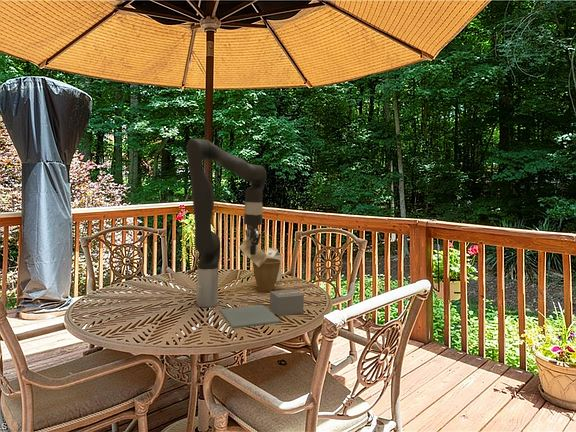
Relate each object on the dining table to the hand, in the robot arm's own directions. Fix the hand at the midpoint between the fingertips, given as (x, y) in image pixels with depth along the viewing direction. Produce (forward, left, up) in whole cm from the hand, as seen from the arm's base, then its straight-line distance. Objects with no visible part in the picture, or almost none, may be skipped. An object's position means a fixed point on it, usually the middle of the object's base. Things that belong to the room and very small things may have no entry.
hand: (252, 254), depth 170 cm
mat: (-1, 0, -27) cm, 27 cm away
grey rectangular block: (+17, +2, -27) cm, 32 cm away
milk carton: (+30, +54, -27) cm, 67 cm away
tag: (+5, 0, -3) cm, 6 cm away
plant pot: (+20, +37, -27) cm, 50 cm away
